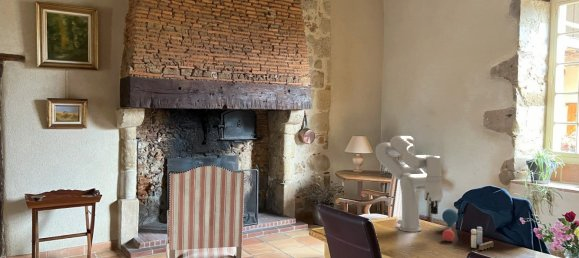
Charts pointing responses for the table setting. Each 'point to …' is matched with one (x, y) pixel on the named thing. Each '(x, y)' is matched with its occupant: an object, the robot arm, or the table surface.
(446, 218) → the blue ovoid piece
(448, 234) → the ball
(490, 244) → the backstop
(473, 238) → the ivory pin
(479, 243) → the slate-blue pin
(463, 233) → the table surface
